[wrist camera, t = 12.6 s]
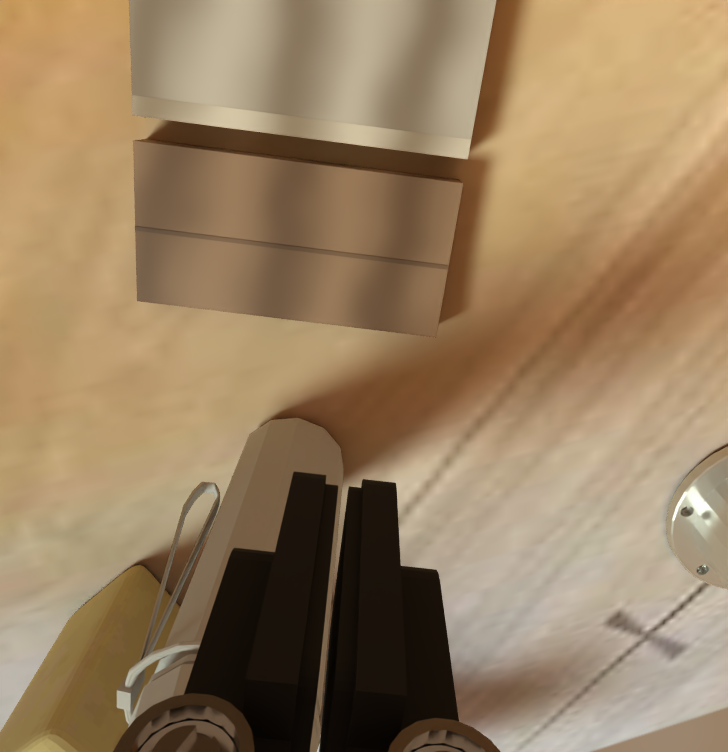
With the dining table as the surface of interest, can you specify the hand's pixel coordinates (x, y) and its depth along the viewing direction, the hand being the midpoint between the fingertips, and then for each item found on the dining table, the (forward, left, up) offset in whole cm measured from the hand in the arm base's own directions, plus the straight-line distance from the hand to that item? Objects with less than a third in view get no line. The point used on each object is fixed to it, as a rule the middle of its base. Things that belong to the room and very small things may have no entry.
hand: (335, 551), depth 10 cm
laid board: (+4, +1, -29) cm, 29 cm away
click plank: (+4, -10, -29) cm, 31 cm away
